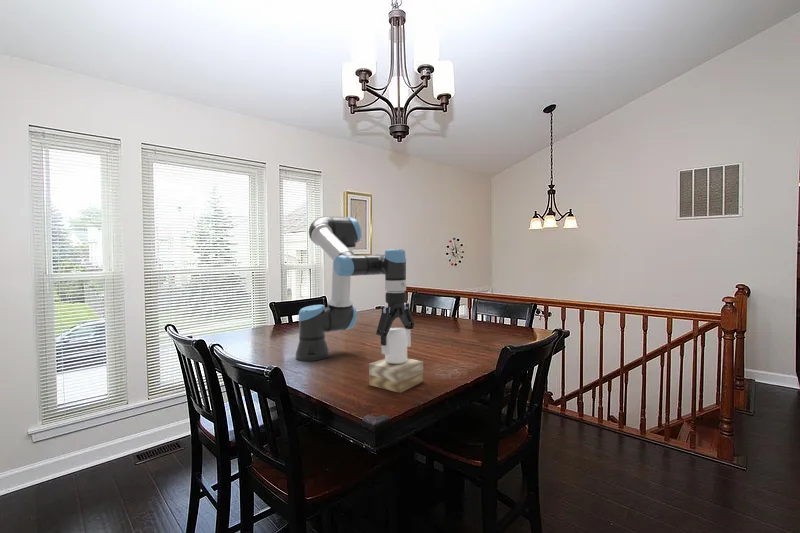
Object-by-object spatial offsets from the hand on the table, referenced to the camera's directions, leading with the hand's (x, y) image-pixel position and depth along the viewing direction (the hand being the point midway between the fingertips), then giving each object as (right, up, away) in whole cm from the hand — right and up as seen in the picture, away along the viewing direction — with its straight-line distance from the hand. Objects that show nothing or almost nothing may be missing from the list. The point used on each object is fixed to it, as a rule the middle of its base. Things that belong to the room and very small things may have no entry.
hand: (396, 350), depth 141 cm
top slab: (0, -9, 0) cm, 9 cm away
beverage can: (0, -5, 0) cm, 5 cm away
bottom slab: (0, -13, 0) cm, 13 cm away
